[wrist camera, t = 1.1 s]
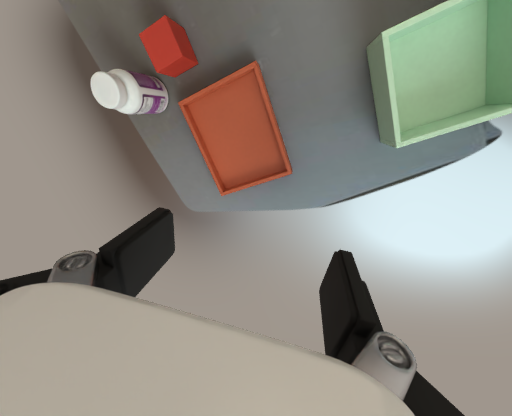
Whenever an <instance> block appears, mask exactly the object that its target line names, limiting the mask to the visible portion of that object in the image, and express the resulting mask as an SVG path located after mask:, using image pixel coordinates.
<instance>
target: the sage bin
mask: <svg viewBox="0 0 512 416" xmlns="http://www.w3.org/2000/svg"><path fill="white" fill-rule="evenodd" d="M366 51H367V57H368V64H369V70H370V77H371V83H372V90H373V96H374V103H375V109H376V116H377V122H378V129H379V135H380V142H381V143H384V144H387V145H389V146H392V147H395V148H399V147H402V146H406V145H409V144H412V143H415V142H419V141H422V140H425V139H428V138H432V137H435V136H438V135H442V134H445V133H448V132H451V131H455V130H458V129H461V128H465V127H468V126H471V125H474V124H478V123H481V122H484V121H488V120H491V119H494V118H497V117H501V116H504V115H507V114H510V113H512V0H448V1H446V2H444V3H441V4H439V5H437V6H435V7H433V8H431V9H429V10H427V11H425V12H423V13H421V14H419V15H416V16H414V17H412V18H410V19H408V20H406V21H404V22H402V23H400V24H398V25H396V26H394V27H392V28H389V29H387V30H385V31H383V32H382V33H381V34H380V35H379V36H378V37H377V38H376V39H375V40H374V41H373V42H372V43H371V44H370V45H369V46H368V47H367V48H366Z"/></svg>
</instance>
